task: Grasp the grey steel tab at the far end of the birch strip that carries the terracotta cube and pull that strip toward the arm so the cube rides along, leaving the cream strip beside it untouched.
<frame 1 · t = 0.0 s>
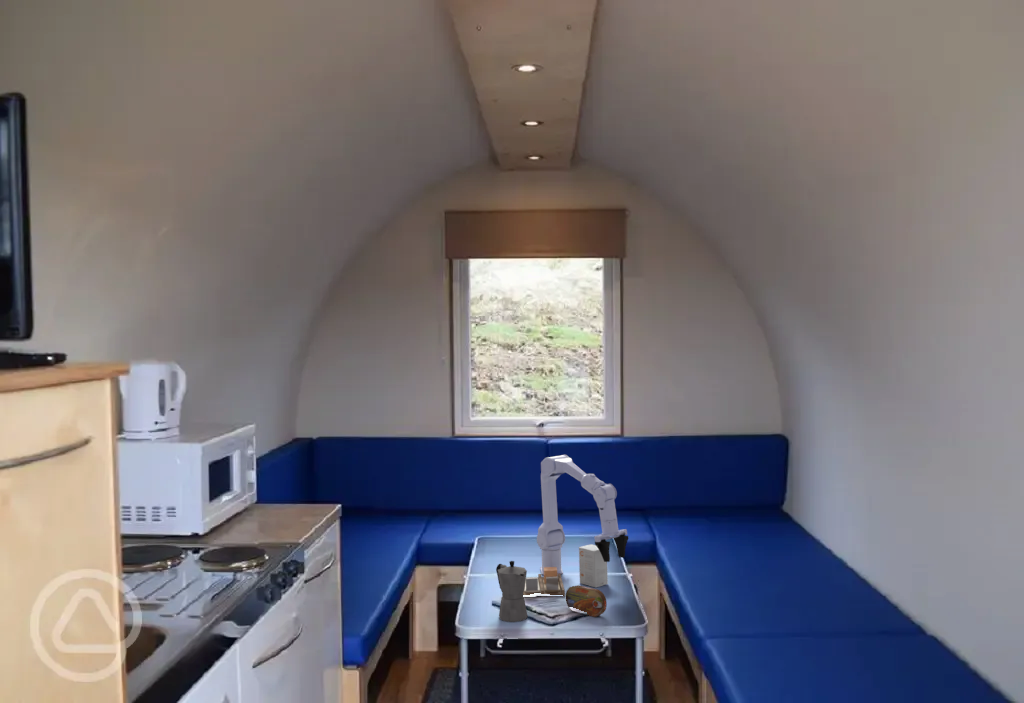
hand: (614, 559, 303), 11 cm above the table, tool pointing down, fingers open, 7 cm apart
cube: (550, 581, 310), point 2 cm above the table, touching strip a
coffeepot: (511, 617, 278), on the table
tin: (586, 614, 280), on the table
strip a: (551, 578, 307), point 3 cm above the table, slide at 0.0 cm, touching cube
strip b: (531, 579, 307), point 3 cm above the table, slide at 0.0 cm
lane board: (541, 588, 308), on the table
small box: (593, 584, 311), on the table
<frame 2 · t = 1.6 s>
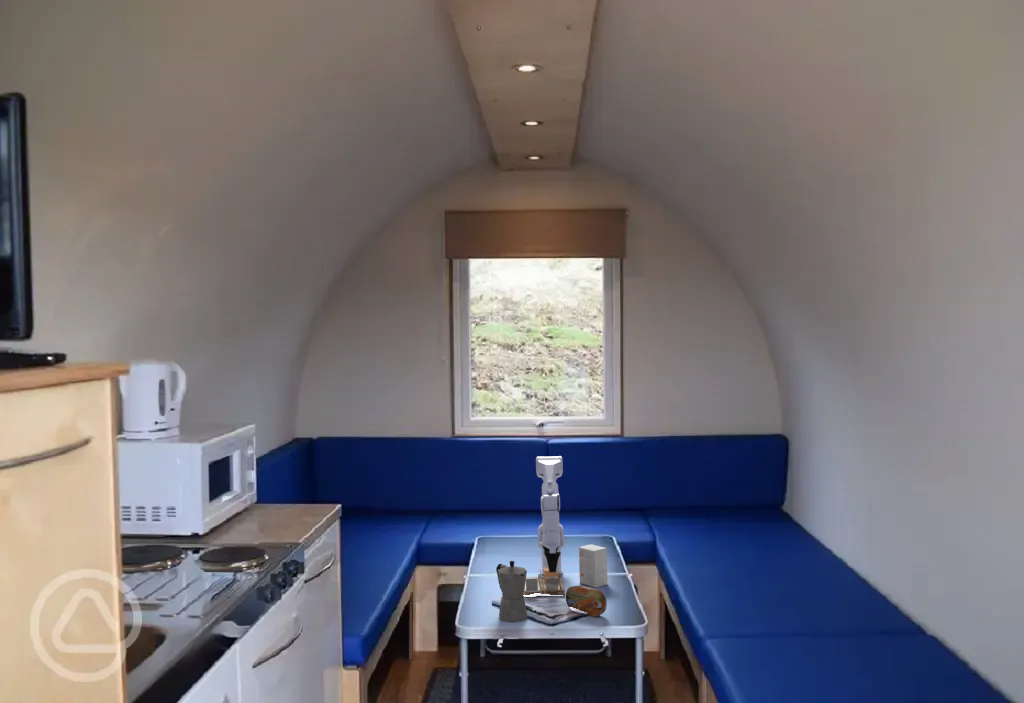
hand: (551, 569, 300), 9 cm above the table, tool pointing down, fingers open, 7 cm apart
nothing on the table moved.
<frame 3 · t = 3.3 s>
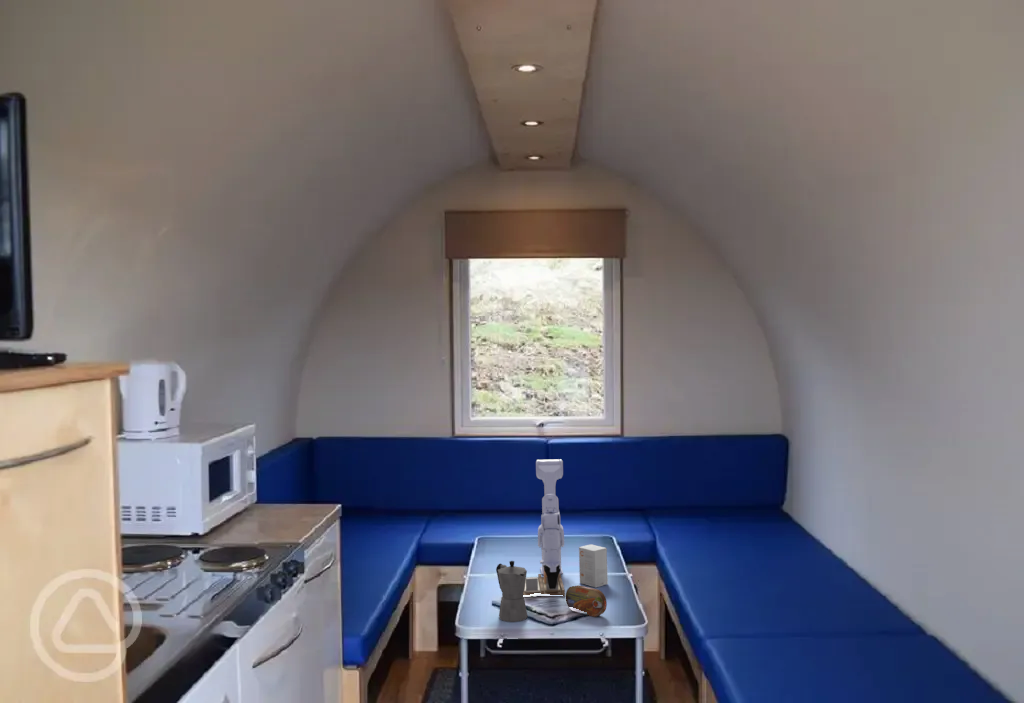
hand: (552, 587, 301), 2 cm above the table, tool pointing down, fingers closed on strip a, 2 cm apart
strip a: (551, 578, 307), point 3 cm above the table, slide at 0.0 cm, touching cube, gripper
everything else where it was.
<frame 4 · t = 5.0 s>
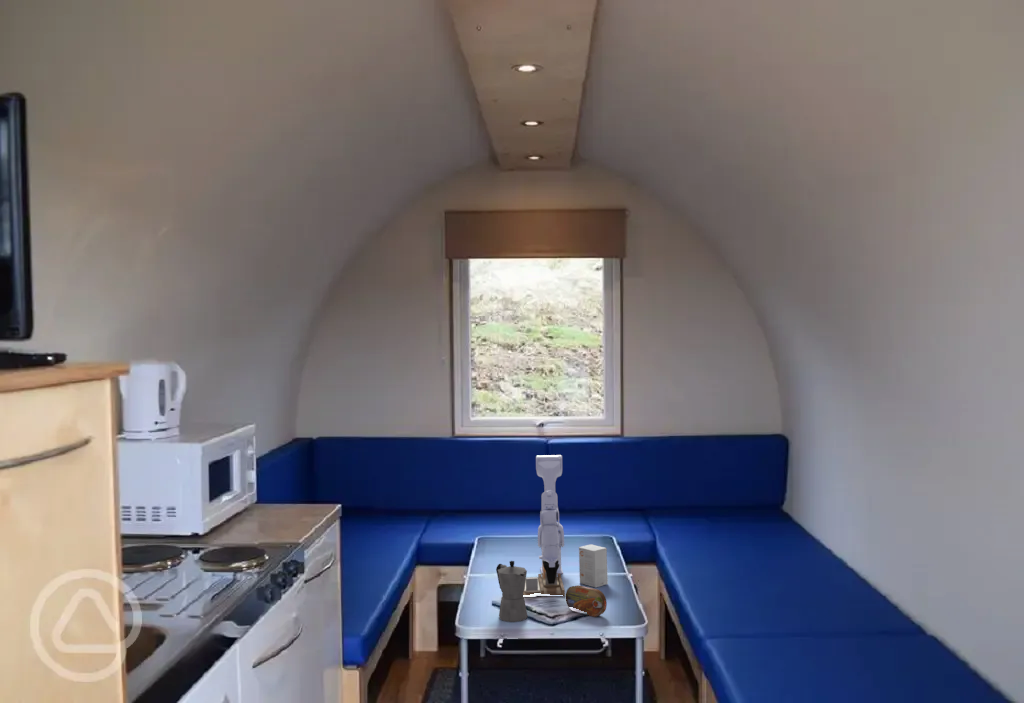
hand: (551, 582, 306), 2 cm above the table, tool pointing down, fingers closed on strip a, 2 cm apart
cube: (549, 576, 315), point 2 cm above the table, touching strip a
strip a: (549, 573, 313), point 3 cm above the table, slide at 6.0 cm, touching cube, gripper
everything else where it was.
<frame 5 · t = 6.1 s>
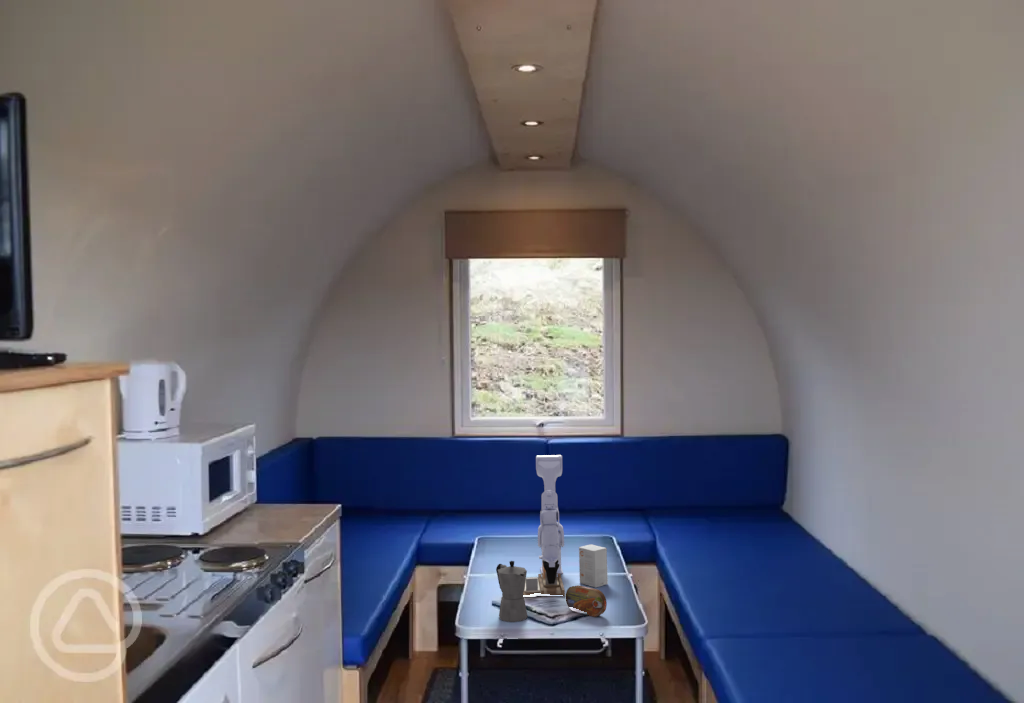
hand: (551, 582, 307), 2 cm above the table, tool pointing down, fingers closed
strip a: (549, 573, 313), point 3 cm above the table, slide at 6.0 cm, touching cube
everything else where it was.
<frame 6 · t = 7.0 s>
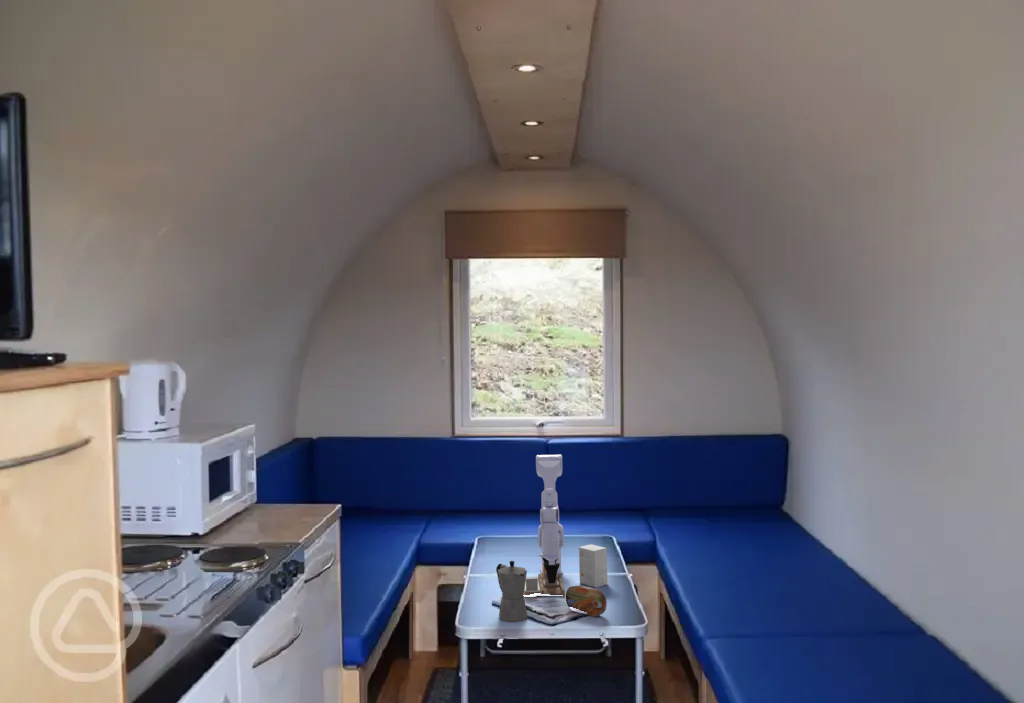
hand: (551, 579, 307), 3 cm above the table, tool pointing down, fingers open, 7 cm apart
nothing on the table moved.
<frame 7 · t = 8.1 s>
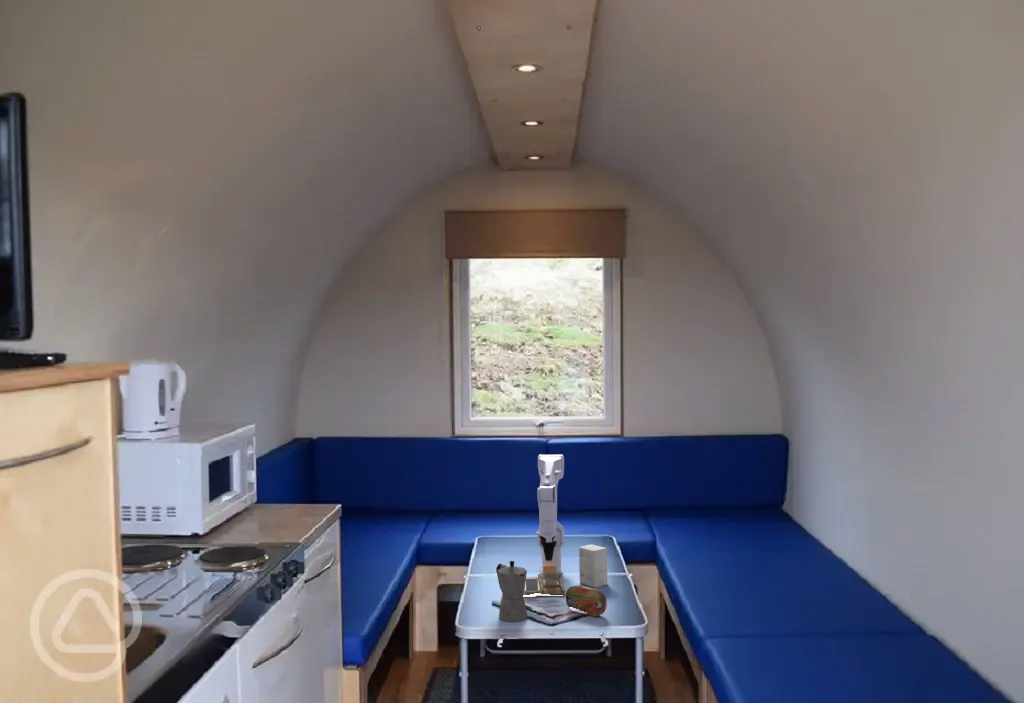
hand: (548, 557, 312), 9 cm above the table, tool pointing down, fingers open, 7 cm apart
nothing on the table moved.
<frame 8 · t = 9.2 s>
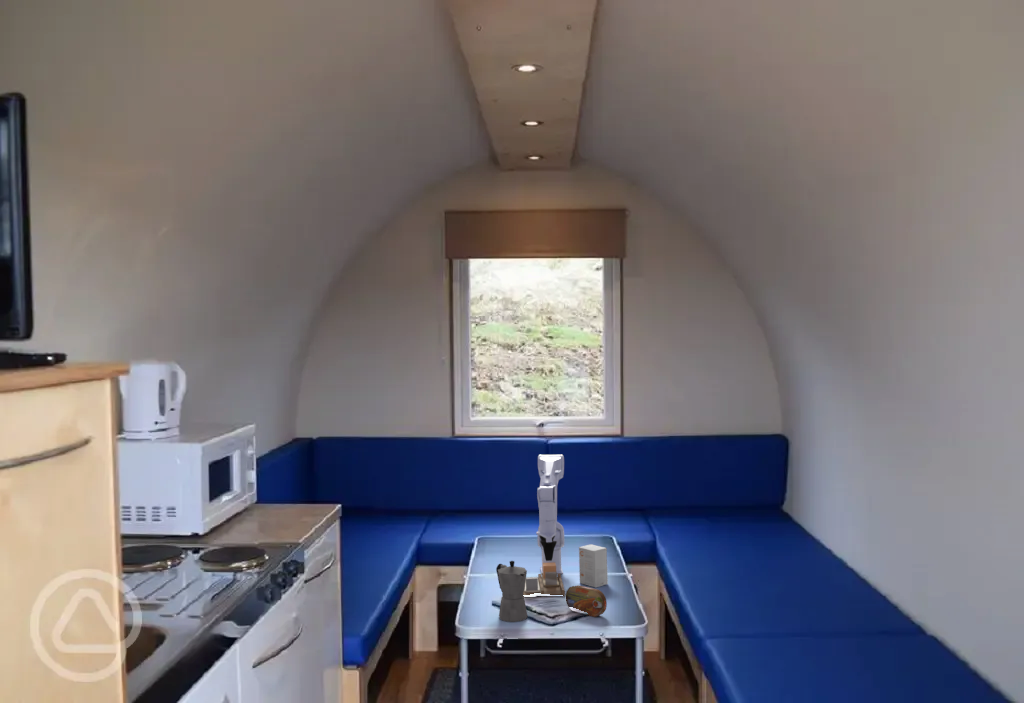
hand: (548, 557, 312), 9 cm above the table, tool pointing down, fingers open, 7 cm apart
nothing on the table moved.
at the end: cube 0.2 cm from the target spot, point 1.7 cm above the table; strip a slide at 6.0 cm; strip b slide at 0.0 cm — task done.
